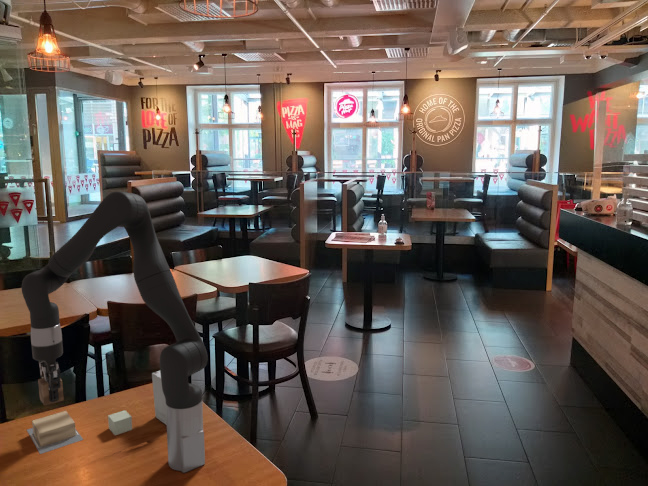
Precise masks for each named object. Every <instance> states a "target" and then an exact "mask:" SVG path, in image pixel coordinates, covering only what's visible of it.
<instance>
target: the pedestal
mask: <svg viewBox="0 0 648 486" xmlns="http://www.w3.org/2000/svg"><path fill="white" fill-rule="evenodd" d="M31 425H32V428H33V434H34V436H35V437H36V439H37V441H38V443H39V444H40V446H41V447H43V446H46V445H49V444H52V443H55V442H58V441H61V440H64V439H67V438H70V437H73V436H76V430H77V429H76V422H75V421H74V419H73V418H72V416H70V414H69V413H68V410H64V411H60V412H57V413H53V414H51V415H47V416H42V417H40V418H36V419H34V420H32V421H31ZM75 429H76V430H75Z"/></svg>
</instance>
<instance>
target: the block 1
mask: <svg viewBox="0 0 648 486" xmlns="http://www.w3.org/2000/svg"><path fill="white" fill-rule="evenodd" d="M47 378H49V377H47ZM37 381H38V393H39V394H38V395H39V400H40V402H41V403H42V404H43V406H49V405H53V404H55V403H59V402H62V401H64V400H65V397H64V386H63V385H64V384H63V380H62V378H61V377H60V385H61V386H60V388H58V395H59V400H58V401H55V402H50V400H49V389H48V384H47V382H45V378H38V379H37ZM54 384H56V382H55V383H53V385H54Z"/></svg>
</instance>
